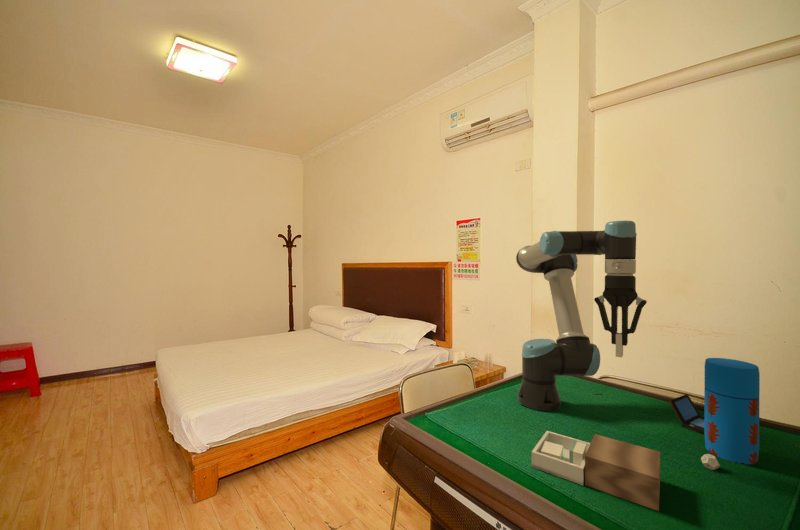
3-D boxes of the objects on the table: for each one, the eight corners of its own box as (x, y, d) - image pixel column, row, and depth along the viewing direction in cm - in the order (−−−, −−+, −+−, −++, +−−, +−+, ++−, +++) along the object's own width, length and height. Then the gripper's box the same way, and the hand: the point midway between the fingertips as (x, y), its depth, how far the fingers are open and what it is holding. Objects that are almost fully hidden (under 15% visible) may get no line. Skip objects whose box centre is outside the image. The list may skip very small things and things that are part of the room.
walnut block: (585, 485, 81) (585, 455, 81) (594, 460, 92) (594, 434, 92) (658, 511, 73) (658, 478, 73) (660, 480, 83) (660, 451, 83)
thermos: (694, 443, 99) (694, 358, 99) (727, 441, 100) (728, 357, 100) (733, 466, 89) (734, 370, 88) (771, 463, 90) (771, 368, 89)
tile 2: (582, 472, 85) (569, 468, 87) (586, 460, 90) (573, 457, 92) (582, 454, 85) (569, 450, 87) (586, 443, 90) (573, 440, 92)
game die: (700, 461, 91) (700, 450, 91) (719, 467, 88) (719, 455, 88) (700, 468, 88) (700, 456, 88) (720, 473, 86) (720, 461, 86)
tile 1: (559, 456, 87) (559, 468, 87) (563, 445, 92) (563, 456, 92) (540, 451, 89) (540, 462, 89) (545, 440, 94) (545, 451, 94)
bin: (531, 467, 89) (531, 451, 89) (546, 444, 100) (546, 430, 100) (583, 485, 81) (583, 468, 81) (593, 458, 92) (593, 444, 92)
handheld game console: (710, 437, 103) (710, 413, 103) (668, 423, 113) (668, 400, 113) (727, 427, 110) (727, 404, 109) (686, 414, 119) (686, 393, 119)
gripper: (591, 274, 100) (591, 354, 101) (646, 275, 92) (645, 363, 92) (596, 273, 106) (596, 349, 106) (648, 274, 98) (648, 357, 98)
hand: (619, 355), depth 99 cm, fingers closed
